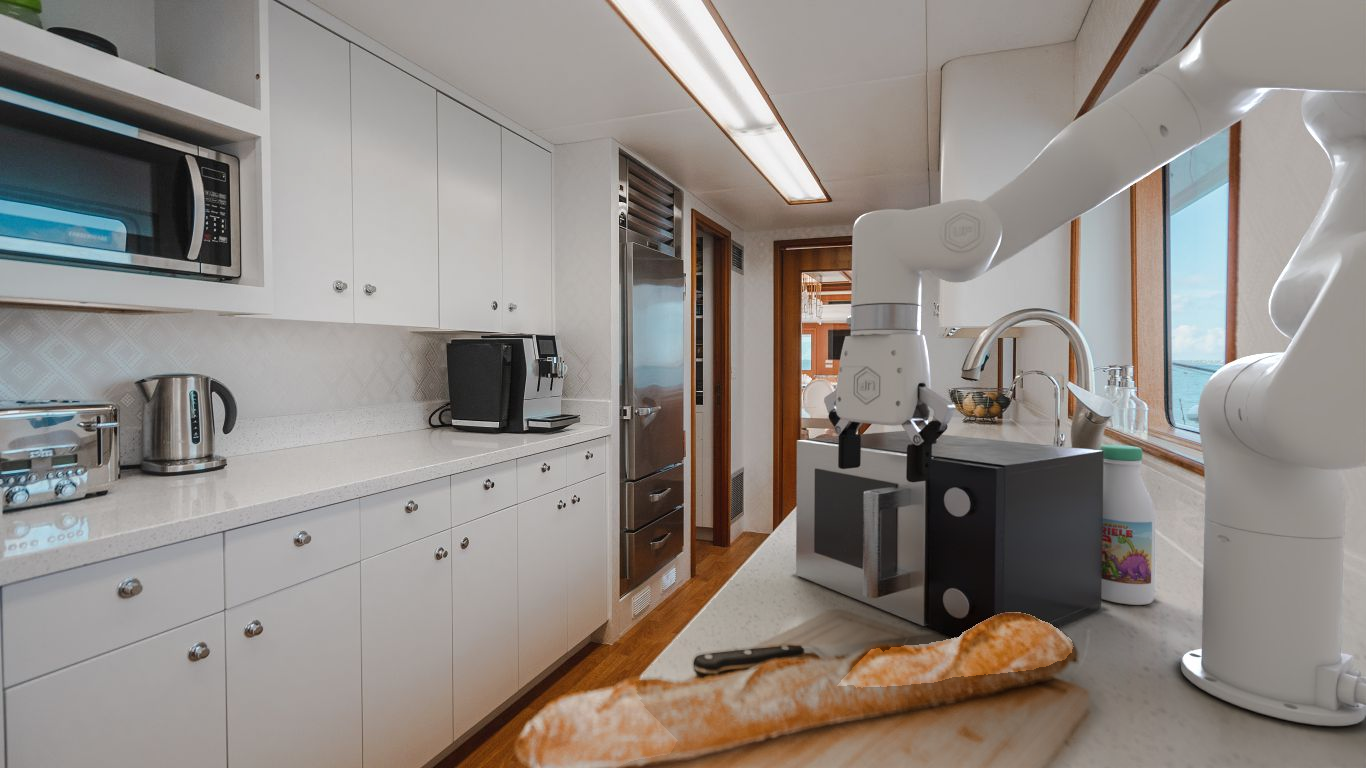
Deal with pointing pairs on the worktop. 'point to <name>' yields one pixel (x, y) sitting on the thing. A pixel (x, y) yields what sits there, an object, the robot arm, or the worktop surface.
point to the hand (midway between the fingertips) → (881, 474)
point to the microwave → (1009, 529)
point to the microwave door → (864, 528)
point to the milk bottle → (1127, 529)
